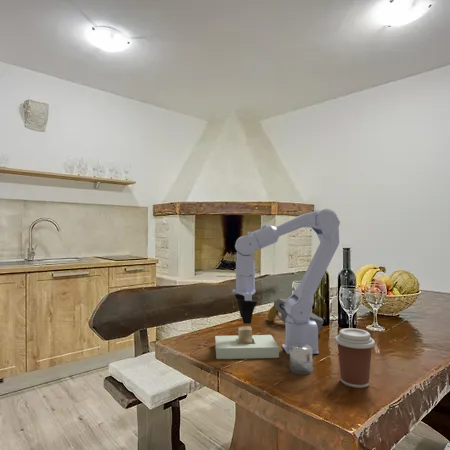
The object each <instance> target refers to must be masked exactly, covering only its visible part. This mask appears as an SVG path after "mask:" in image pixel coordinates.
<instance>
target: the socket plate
mask: <svg viewBox="0 0 450 450" xmlns="http://www.w3.org/2000/svg"><path fill="white" fill-rule="evenodd" d="M214 337H215V338H214V339H215V340H214V341H215V342H214V343H215V345H214V346H215V356H216V357H215V359H216V360H233V359H235V360H237V359H276V358H280V346H279V345H278V343H277V341H276V340H275V339H274V337H273V336H272V334H255V335H254V334H252V344H238V335H215V336H214Z"/></svg>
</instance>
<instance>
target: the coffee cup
mask: <svg viewBox="0 0 450 450" xmlns="http://www.w3.org/2000/svg"><path fill="white" fill-rule="evenodd" d="M334 341H335V343H336V344H337V349H338V360H339V361H338V362H339V371H340V381H341V383H342V384H343V385H345V386H348V387H349V388H350V387H352V388H358V389H362V388H366V387H368V386H369V385H370V374H371V363H372V349H373V347H375V345H376V341H375V340H374V338H373V337H371V333H370V332H368V330H364V329H360V328H353V327H352V328H350V327H348V328H341V329H340V330H339V331H338V334H337V335H335V337H334Z"/></svg>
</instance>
